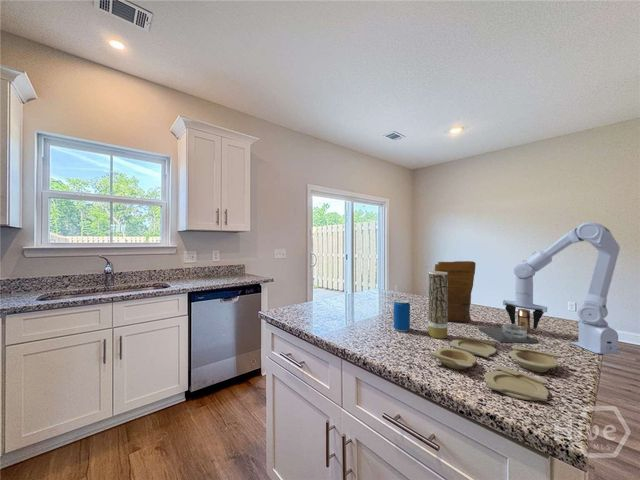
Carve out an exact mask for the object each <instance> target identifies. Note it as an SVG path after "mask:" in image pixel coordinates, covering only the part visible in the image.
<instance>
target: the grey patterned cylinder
mask: <svg viewBox="0 0 640 480" xmlns="http://www.w3.org/2000/svg"><path fill="white" fill-rule="evenodd" d="M447 317H448V273H447V272H440V271H434V270H431V271H428V328H427V329H428V332H427V333H428V335H429V336H430V337H432V338H433V339H446V338H448V322H447Z"/></svg>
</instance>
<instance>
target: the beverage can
mask: <svg viewBox="0 0 640 480" xmlns="http://www.w3.org/2000/svg"><path fill="white" fill-rule="evenodd" d="M393 329H395V331H397V332H400V333H401V332H402V333H405V332H406V333H407V332H408V331H410V329H411V303H410V301H409V300H406V299H395V300H394V303H393Z"/></svg>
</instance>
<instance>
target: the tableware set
mask: <svg viewBox="0 0 640 480" xmlns="http://www.w3.org/2000/svg"><path fill="white" fill-rule="evenodd" d="M495 345H496V340H495V341H494V340H488V339H477V338H476V339H475V338H472V337H466V336H461V335H456V338H455V339H452V341H451V343H450V344H449V346H450V347H441V348H437V349H436V350H434V352H433V351H428V352H427V355H428V356H431V357H434V358H436V360H439V361H441V362H442V364H443V365H445V366H446V367H447V368H450V369H455V370H465V369H467V368H472V367H473V366H474V365H476V363H477V358H476V357H475V356H477V357H478V356H480V357H484V358H489V357H490V356H494V355H495V354H496V353H497V349H496V348H495V347H494V346H495ZM511 348H512V349H513V350H510V351H509V352H508V354H509V356H510V358H511V359H513V360H514V361H516V362H517V363H518V365H519V366H520V367H521V368H523V369H526V370H528V371H533V372H538V373H547V371H549V369H554V368H557V367H558V366H559V361H558V360H557V359H562V355H561V354H558V353H552V352H547V351H543V350H536V349H530V348H526V347H524V346H521V345H511ZM555 358H556V359H555ZM494 368H495V369H496V370H493V371H489V372H487V373H486V374H485V375H484V381H485V388H488V389H490V390H494V391H497V392H500V393H501V394H504V395H506V396H508V397H512V398H515V399H520V400H524V401H525V400H526V401H542V402H548V398H549V395H550V394H549V390H548V389H547V387H546V386H547V384H548V382H547V381H546V380H543V379H540V378H537V377H534V376H532V375H529V374H526V373H525V372H520V371H518V370H515V369H511V368H510V367H506V366H503V365H500V364H495V365H494Z"/></svg>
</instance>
